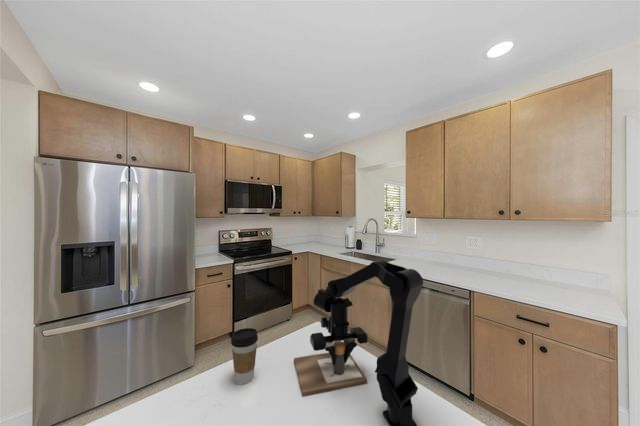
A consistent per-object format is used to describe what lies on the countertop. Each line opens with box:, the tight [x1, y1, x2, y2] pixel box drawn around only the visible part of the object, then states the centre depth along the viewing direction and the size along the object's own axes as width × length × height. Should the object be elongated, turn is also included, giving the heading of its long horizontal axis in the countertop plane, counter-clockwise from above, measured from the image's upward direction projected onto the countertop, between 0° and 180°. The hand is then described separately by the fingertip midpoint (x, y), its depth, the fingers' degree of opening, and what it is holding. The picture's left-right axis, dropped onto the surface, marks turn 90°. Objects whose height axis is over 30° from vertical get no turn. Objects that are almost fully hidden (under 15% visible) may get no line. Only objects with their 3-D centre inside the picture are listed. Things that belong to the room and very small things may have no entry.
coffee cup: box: [230, 327, 259, 385], centre depth 76 cm, size 8×8×15 cm
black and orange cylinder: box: [333, 341, 345, 375], centre depth 77 cm, size 4×4×9 cm
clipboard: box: [293, 352, 368, 397], centre depth 79 cm, size 17×21×2 cm
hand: (339, 363), depth 77 cm, fingers closed on black and orange cylinder, 4 cm apart
